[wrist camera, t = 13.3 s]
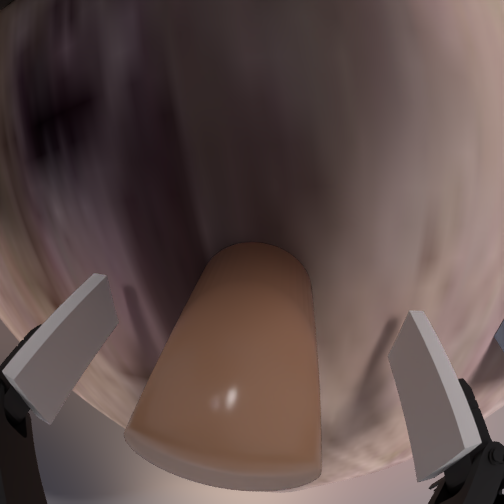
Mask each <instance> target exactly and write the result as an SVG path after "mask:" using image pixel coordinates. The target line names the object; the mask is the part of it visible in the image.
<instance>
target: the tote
mask: <svg viewBox="0 0 504 504" xmlns="http://www.w3.org/2000/svg"><path fill="white" fill-rule="evenodd" d="M494 337H495V339H496V340H497V342H498V344H499V345H500V347H501V348H502V350H503V352H504V320H503V322H502V324H501V326H500V327H499V329H498V331H497V333H496V334H495V336H494Z"/></svg>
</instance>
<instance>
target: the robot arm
mask: <svg viewBox="0 0 504 504" xmlns="http://www.w3.org/2000/svg"><path fill="white" fill-rule="evenodd" d="M11 1H12V0H0V9H2V8H3V7H5V6H6V5H7V4H9V3H10V2H11ZM118 323H119V321H118V317H117V314H116V310H115V306H114V303H113V299H112V295H111V291H110V286H109V282H108V278H107V275H103V274H97V273H94V274H93V275H92V276H90V277H89V278H88V279H87V280H86V281H85V282H84V283H83V284H82V285H81V286H80V287H79V288H78V289H77V290H76V291H75V292H74V293H73V294H72V295H71V296H70V297H69V298H68V299H67V300H66V301H65V302H64V303H63V304H62V305H61V306H60V307H59V308H58V309H57V310H56V311H55V312H54V313H53V314H52V315H51V316H50V317H49V318H48V319H47V320H46V321H45V322H44V323H43V324H42V325H41V324H40V325H39V326H37V327H35V328H34V329H32V330H31V331H30V332H29V333H28V334H27V335H26V336H25V337H24V340H22V341H21V342H20V343H19V344H18V346H16V348H15V349H14V350H13V351H12V352H11V353H10V355H9V356H8V357H7V358H6V359H5V361H4V362H3V363H2V364H1V366H0V504H47V501H46V497H45V494H44V490H43V486H42V482H41V478H40V474H39V470H38V465H37V459H36V454H35V448H34V442H33V434H32V425H31V417H30V414H29V413H28V411H29V410H30V409H31V410H32V411H33V412H34V413H35V415H36V416H37V417H38V418H40V419H41V420H43V421H45V422H46V423H48V424H49V425H50V424H51V423H52V421H53V420H54V418H55V417H56V415H57V413H58V412H59V410H60V408H61V407H62V405H63V404H64V402H65V400H66V399H67V397H68V396H69V394H70V393H71V391H72V389H73V388H74V386H75V385H76V383H77V382H78V380H79V379H80V377H81V376H82V374H83V373H84V371H85V370H86V368H87V367H88V365H89V364H90V362H91V361H92V360H93V358H94V357H95V355H96V354H97V352H98V351H99V350H100V348H101V347H102V345H103V344H104V342H105V341H106V340H107V338H108V337H109V335H110V334H111V333H112V331H113V330H114V329H115V327H116V326H117V324H118ZM388 359H389V362H390V366H391V369H392V372H393V376H394V379H395V382H396V386H397V390H398V393H399V397H400V401H401V405H402V409H403V413H404V417H405V421H406V425H407V430H408V434H409V439H410V443H411V448H412V454H413V459H414V464H415V470H416V477H417V482H421V481H424V480H428V479H431V478H435V477H436V476H437V475H439V474H440V473H442V472H444V474H445V476H444V477H443V478H441V479H440V480H438V481H436V482H435V483H433V484H432V485H431V486H430V487H429V489H432V488H434V487H436V486H437V485H438V486H437V488H436V489H435V490H434V491H435V492H434V494H433V496H432V497H431V499H430V501H429V503H428V504H504V494H502V489H504V446H503V445H502V444H501V443H499V442H495V441H494V442H492V440H491V438H490V436H489V433H488V430H487V427H486V424H485V421H484V419H483V416H482V413H481V411H480V409H479V408H478V407H479V406H478V403H477V401H476V400H475V396H474V394H473V392H472V389H471V387H470V386H469V385H468V384H467V383H466V381H465V380H464V379H463V378H462V379H458V378H457V376H456V374H455V372H454V369H453V367H452V365H451V363H450V361H449V359H448V357H447V355H446V353H445V351H444V349H443V347H442V345H441V343H440V341H439V339H438V337H437V335H436V333H435V331H434V329H433V328H432V326H431V324H430V322H429V320H428V318H427V317H426V315H425V313H424V311H411V310H409V312H408V314H407V317H406V319H405V321H404V323H403V325H402V328H401V330H400V332H399V334H398V336H397V338H396V340H395V342H394V344H393V346H392V348H391V350H390V352H389V354H388Z"/></svg>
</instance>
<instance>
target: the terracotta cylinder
mask: <svg viewBox="0 0 504 504" xmlns="http://www.w3.org/2000/svg"><path fill="white" fill-rule="evenodd" d="M124 438H125V441H126V442H127V444H128V445H129V446H130V447H131V448H132V450H134V451H135V452H136V453H137V454H138V455H140V456H141V457H142V458H144V459H145V460H147V461H148V462H150V463H152V464H153V465H155V466H157V467H159V468H161V469H163V470H165V471H167V472H170V473H172V474H174V475H177V476H179V477H182V478H185V479H188V480H191V481H194V482H198V483H201V484H205V485H209V486H214V487H219V488H225V489H232V490H241V491H277V490H285V489H291V488H296V487H299V486H303V485H306V484H308V483H310V482H312V481H314V480H316V479H317V478H318V477H319V476H320V475H321V471H322V448H321V407H320V385H319V367H318V353H317V339H316V327H315V316H314V306H313V296H312V287H311V281H310V278H309V276H308V273H307V272H306V270H305V268H304V267H303V266H302V264H301V263H300V262H299V261H298V260H297V259H296V258H295V257H294V256H292V255H291V254H290V253H288V252H287V251H285V250H283V249H281V248H279V247H276V246H273V245H270V244H266V243H260V242H246V243H240V244H235V245H232V246H229V247H227V248H225V249H223V250H221V251H220V252H218V253H217V254H216V255H215V256H214V257H213V258H211V260H210V261H209V262H208V264H207V265H206V267H205V269H204V271H203V273H202V274H201V276H200V278H199V280H198V282H197V284H196V286H195V288H194V290H193V292H192V294H191V295H190V297H189V299H188V301H187V303H186V305H185V307H184V309H183V311H182V313H181V315H180V317H179V319H178V321H177V323H176V325H175V327H174V329H173V331H172V333H171V335H170V337H169V339H168V341H167V343H166V345H165V347H164V349H163V351H162V353H161V355H160V357H159V359H158V361H157V363H156V365H155V367H154V369H153V371H152V373H151V375H150V378H149V380H148V382H147V384H146V386H145V388H144V390H143V392H142V395H141V397H140V399H139V401H138V403H137V405H136V407H135V410H134V412H133V414H132V416H131V418H130V421H129V423H128V425H127V427H126V429H125V432H124Z"/></svg>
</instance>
